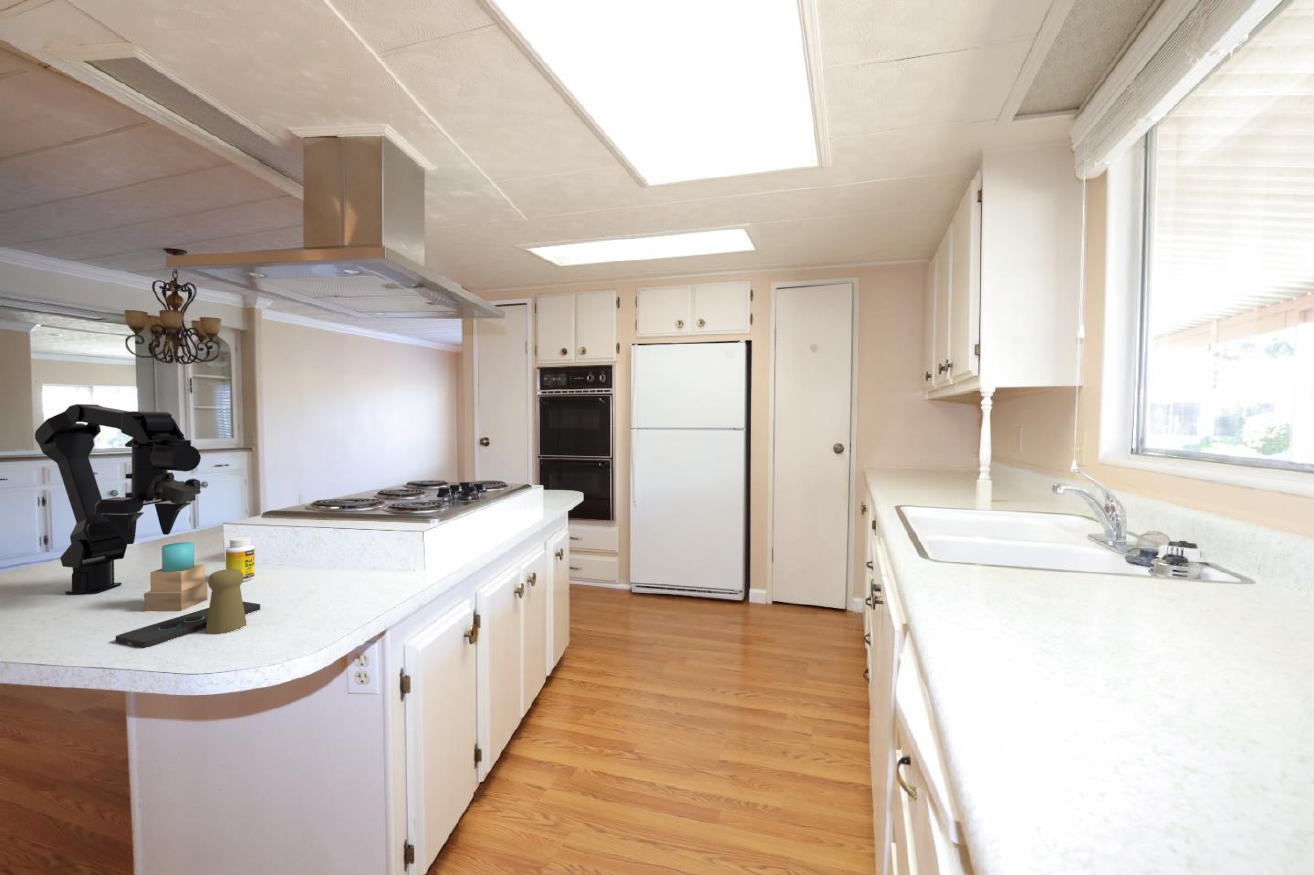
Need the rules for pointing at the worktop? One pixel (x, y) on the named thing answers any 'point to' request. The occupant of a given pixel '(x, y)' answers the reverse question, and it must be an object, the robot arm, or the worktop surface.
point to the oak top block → (177, 579)
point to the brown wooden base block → (175, 599)
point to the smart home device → (172, 628)
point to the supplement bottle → (241, 556)
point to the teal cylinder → (177, 557)
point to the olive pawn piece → (225, 602)
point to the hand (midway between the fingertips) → (148, 539)
